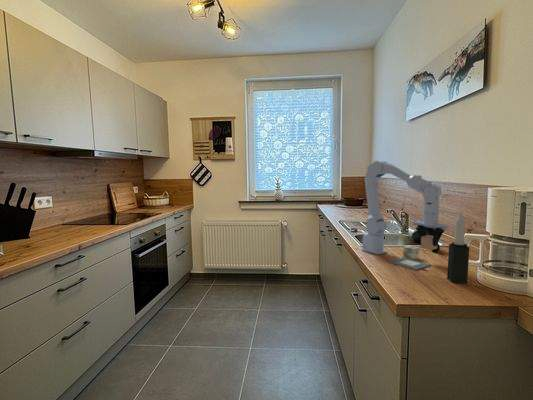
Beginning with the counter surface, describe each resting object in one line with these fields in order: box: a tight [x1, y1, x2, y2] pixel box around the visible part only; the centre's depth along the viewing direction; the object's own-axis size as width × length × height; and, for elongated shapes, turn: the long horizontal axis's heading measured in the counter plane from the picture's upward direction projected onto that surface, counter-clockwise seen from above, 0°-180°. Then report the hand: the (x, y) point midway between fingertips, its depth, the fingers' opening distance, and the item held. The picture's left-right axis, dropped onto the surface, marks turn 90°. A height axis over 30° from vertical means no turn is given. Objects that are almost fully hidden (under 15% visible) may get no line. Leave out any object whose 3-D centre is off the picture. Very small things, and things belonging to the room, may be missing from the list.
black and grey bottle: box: [446, 211, 470, 285], centre depth 99 cm, size 5×5×25 cm
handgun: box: [411, 226, 440, 253], centre depth 147 cm, size 5×23×15 cm, turn 174°
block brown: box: [420, 235, 437, 251], centre depth 121 cm, size 4×4×5 cm
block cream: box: [402, 244, 420, 260], centre depth 128 cm, size 4×4×5 cm
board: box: [388, 257, 432, 271], centre depth 120 cm, size 12×11×1 cm
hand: (429, 244), depth 121 cm, fingers closed on block brown, 4 cm apart
